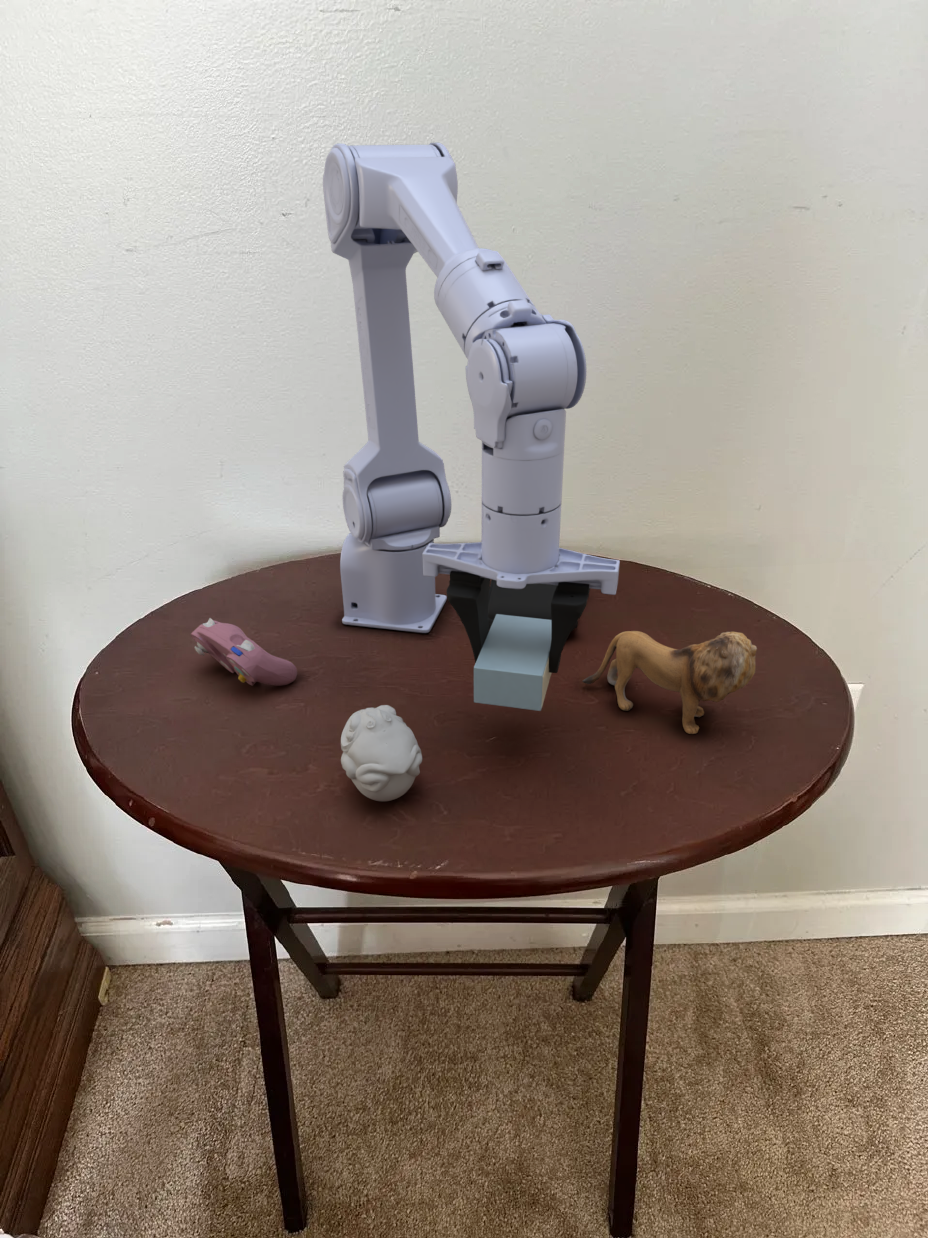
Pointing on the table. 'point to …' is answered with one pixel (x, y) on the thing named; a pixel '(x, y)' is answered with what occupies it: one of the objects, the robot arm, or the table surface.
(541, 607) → the carrying case
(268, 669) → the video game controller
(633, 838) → the table surface
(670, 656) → the lion figurine
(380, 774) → the frog figurine
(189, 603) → the table surface
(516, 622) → the pale blue rectangular box
